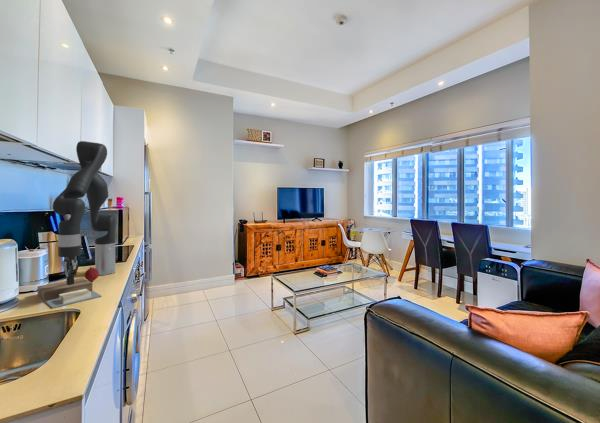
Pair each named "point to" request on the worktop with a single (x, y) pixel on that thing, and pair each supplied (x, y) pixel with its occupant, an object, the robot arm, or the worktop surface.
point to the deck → (62, 288)
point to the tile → (74, 296)
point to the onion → (91, 274)
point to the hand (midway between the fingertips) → (70, 284)
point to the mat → (57, 303)
